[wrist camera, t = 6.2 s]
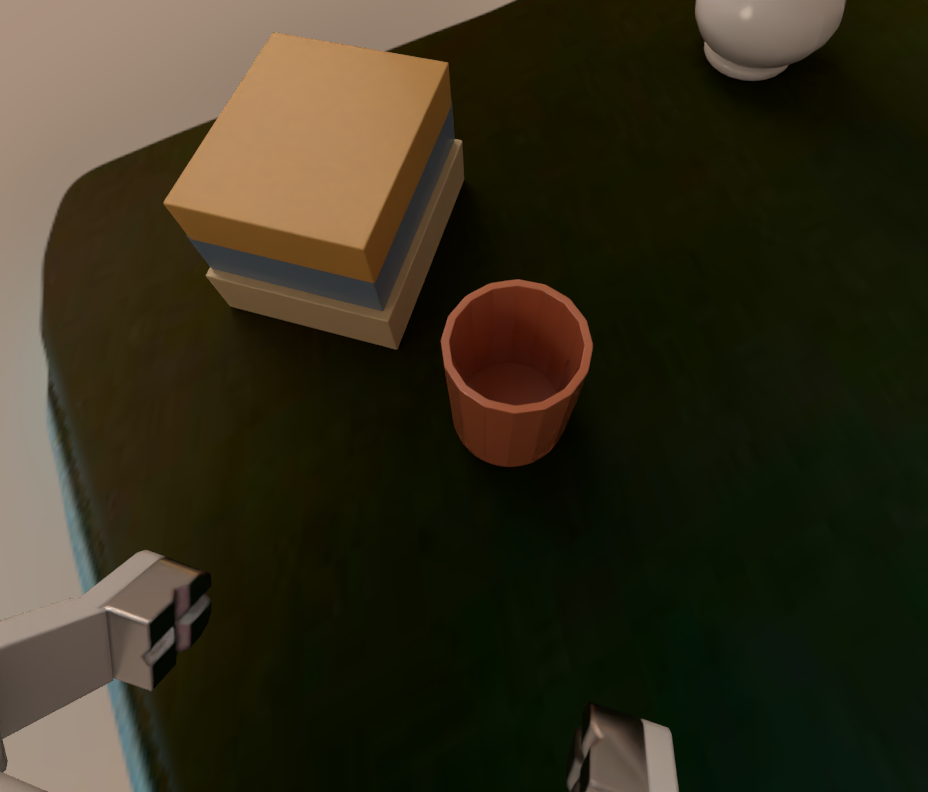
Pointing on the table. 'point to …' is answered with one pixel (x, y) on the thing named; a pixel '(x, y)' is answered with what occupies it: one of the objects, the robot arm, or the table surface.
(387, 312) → the book stack
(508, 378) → the cup
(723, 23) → the flower vase
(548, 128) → the table surface
